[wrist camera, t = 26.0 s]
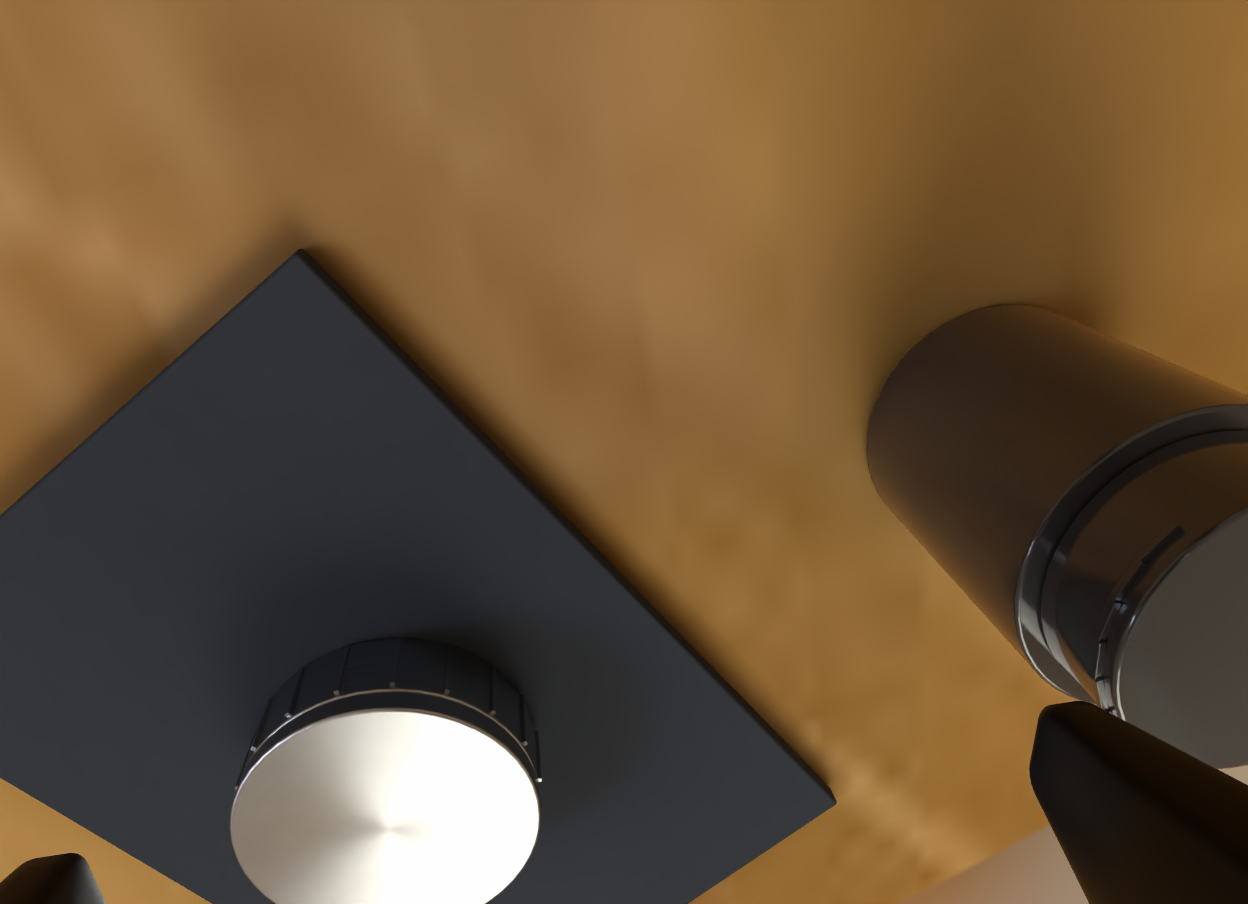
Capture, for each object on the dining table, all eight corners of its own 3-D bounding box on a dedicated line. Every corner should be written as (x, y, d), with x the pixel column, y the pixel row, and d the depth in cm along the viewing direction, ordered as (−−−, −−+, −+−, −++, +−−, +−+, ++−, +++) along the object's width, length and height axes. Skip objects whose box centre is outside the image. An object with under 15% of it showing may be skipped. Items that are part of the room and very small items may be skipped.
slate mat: (-159, 657, 19) (-178, 674, 18) (302, 246, 17) (295, 252, 16) (464, 1034, 27) (464, 1054, 26) (831, 787, 25) (838, 803, 24)
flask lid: (506, 859, 23) (507, 944, 21) (238, 836, 22) (209, 925, 20) (568, 657, 21) (577, 729, 19) (272, 615, 19) (243, 687, 17)
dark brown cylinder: (818, 415, 20) (1023, 634, 12) (1040, 248, 19) (1410, 370, 11) (940, 578, 22) (1174, 846, 15) (1141, 436, 21) (1505, 643, 14)
